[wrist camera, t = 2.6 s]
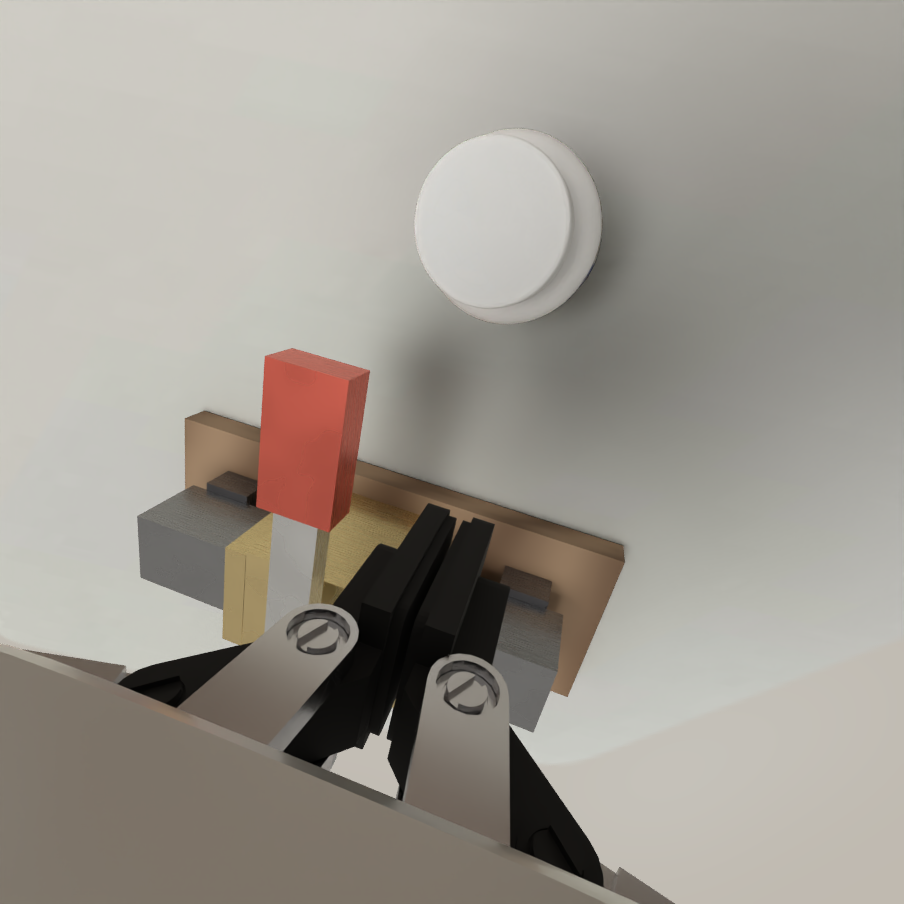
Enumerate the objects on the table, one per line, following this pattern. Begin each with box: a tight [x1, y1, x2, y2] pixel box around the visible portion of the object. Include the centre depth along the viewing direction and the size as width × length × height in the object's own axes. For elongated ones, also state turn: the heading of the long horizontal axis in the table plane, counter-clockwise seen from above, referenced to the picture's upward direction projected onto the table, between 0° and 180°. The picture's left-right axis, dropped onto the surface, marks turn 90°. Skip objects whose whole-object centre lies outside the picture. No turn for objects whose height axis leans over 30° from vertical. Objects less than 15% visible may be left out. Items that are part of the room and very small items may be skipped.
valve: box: [137, 471, 563, 732], centre depth 24 cm, size 20×7×7 cm, turn 78°
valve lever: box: [256, 348, 370, 633], centre depth 18 cm, size 14×3×2 cm, turn 168°
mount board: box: [185, 411, 625, 697], centre depth 28 cm, size 24×9×2 cm, turn 78°
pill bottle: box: [414, 128, 602, 324], centre depth 17 cm, size 5×5×10 cm
